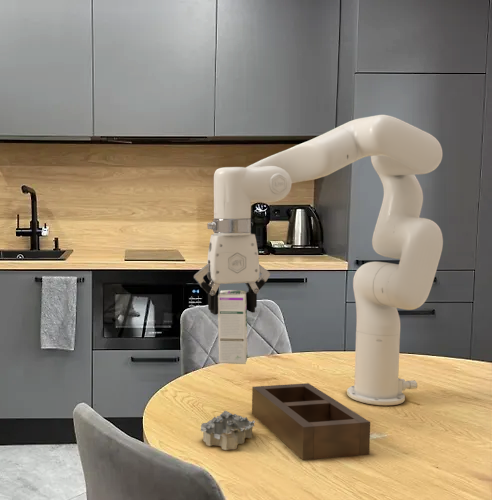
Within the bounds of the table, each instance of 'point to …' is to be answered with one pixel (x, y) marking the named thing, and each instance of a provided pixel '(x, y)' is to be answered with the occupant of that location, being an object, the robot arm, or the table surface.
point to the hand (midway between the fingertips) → (232, 311)
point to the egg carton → (227, 430)
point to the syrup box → (232, 326)
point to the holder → (311, 421)
